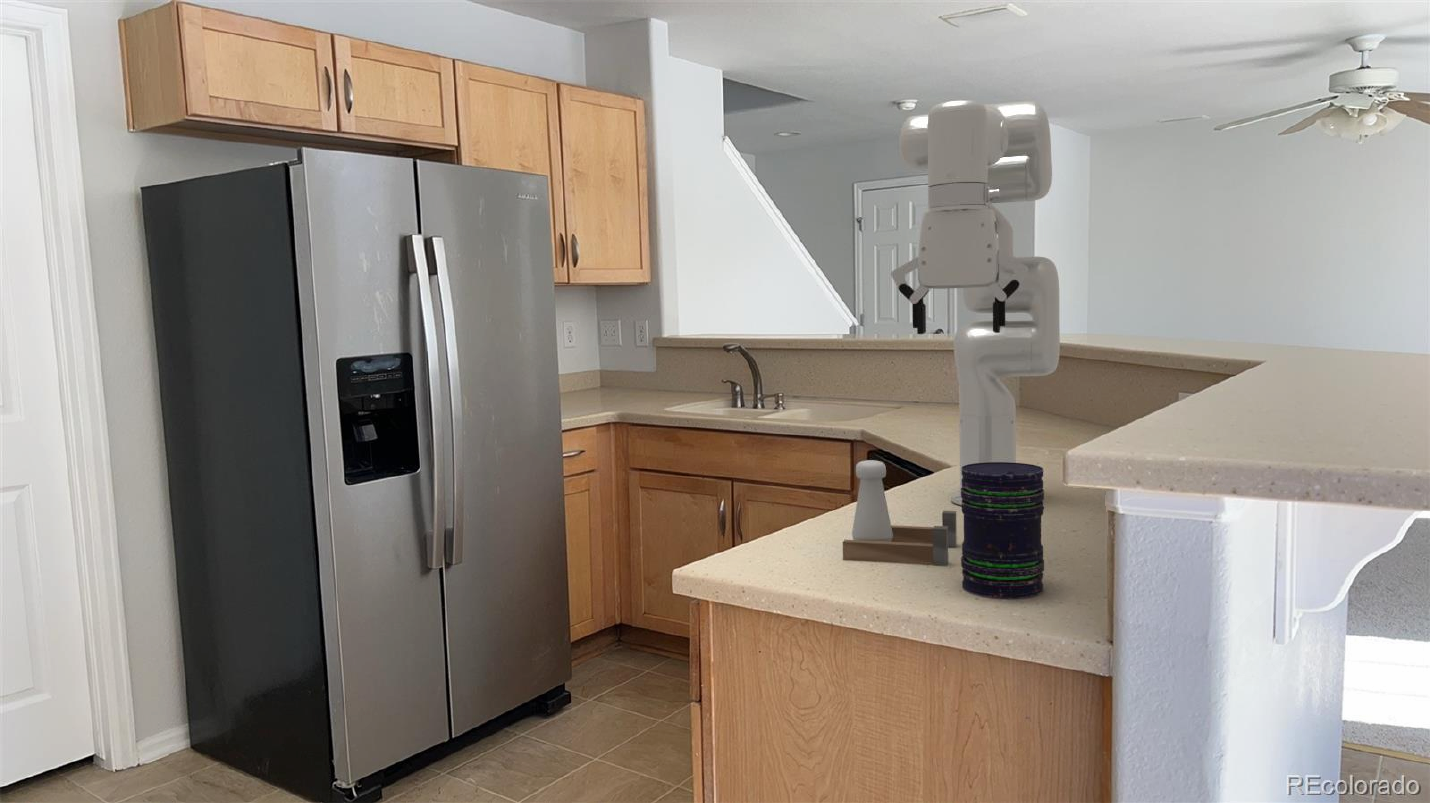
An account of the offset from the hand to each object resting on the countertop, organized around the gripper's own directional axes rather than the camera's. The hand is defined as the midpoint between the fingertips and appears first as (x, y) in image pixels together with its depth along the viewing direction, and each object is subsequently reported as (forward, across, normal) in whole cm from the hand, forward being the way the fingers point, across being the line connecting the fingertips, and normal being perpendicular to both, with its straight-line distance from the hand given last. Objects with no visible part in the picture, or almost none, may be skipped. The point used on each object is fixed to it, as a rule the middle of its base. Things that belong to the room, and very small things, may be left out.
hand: (958, 333), depth 132 cm
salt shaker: (+31, +13, -6) cm, 35 cm away
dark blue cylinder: (+31, -6, +9) cm, 33 cm away
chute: (+31, +9, -6) cm, 33 cm away
